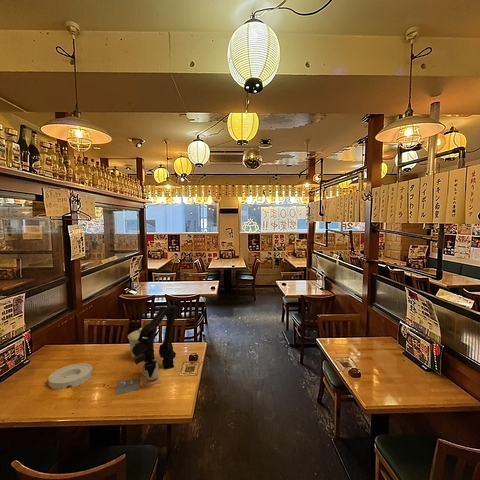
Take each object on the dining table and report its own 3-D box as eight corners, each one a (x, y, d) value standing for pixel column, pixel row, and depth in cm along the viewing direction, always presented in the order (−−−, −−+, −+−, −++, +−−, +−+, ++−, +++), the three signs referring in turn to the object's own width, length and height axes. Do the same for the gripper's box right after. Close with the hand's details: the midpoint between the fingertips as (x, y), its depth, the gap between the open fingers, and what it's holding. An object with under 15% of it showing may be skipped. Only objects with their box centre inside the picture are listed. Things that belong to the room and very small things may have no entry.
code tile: (138, 377, 174) (138, 376, 174) (138, 389, 161) (138, 389, 161) (116, 381, 169) (116, 381, 169) (115, 394, 156) (115, 394, 156)
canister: (148, 349, 213) (146, 321, 212) (160, 356, 200) (159, 327, 199) (124, 357, 200) (122, 328, 199) (136, 366, 187) (134, 335, 186)
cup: (155, 380, 166) (155, 365, 166) (139, 380, 167) (138, 365, 166) (160, 374, 173) (159, 359, 173) (144, 373, 174) (143, 359, 174)
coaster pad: (158, 374, 176) (158, 373, 176) (160, 382, 167) (160, 382, 167) (139, 378, 172) (139, 377, 172) (140, 387, 163) (140, 386, 163)
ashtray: (74, 367, 189) (73, 361, 189) (101, 372, 182) (100, 366, 181) (39, 386, 168) (38, 379, 167) (68, 393, 160) (67, 386, 160)
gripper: (133, 345, 174) (135, 369, 175) (134, 358, 157) (135, 385, 158) (152, 341, 178) (153, 365, 179) (155, 354, 161) (156, 380, 162)
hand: (149, 374), depth 169 cm, fingers closed on cup, 7 cm apart
